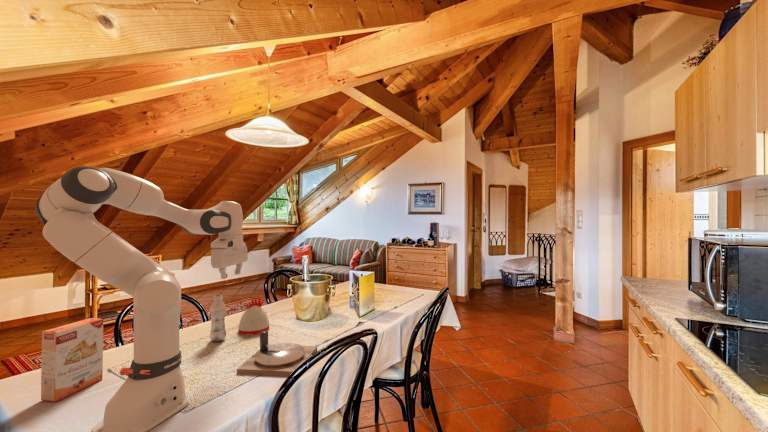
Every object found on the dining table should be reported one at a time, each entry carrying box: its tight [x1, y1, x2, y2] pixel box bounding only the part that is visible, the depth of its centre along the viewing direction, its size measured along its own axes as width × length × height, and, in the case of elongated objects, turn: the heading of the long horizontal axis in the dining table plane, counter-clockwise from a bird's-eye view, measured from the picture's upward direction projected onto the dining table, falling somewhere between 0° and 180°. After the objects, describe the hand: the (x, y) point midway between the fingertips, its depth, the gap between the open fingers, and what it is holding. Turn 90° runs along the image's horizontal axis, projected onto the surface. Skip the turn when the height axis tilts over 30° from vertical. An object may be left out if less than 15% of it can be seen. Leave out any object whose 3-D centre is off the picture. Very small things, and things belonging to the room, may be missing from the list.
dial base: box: [236, 344, 318, 377], centre depth 124 cm, size 22×22×2 cm
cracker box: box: [40, 317, 104, 403], centre depth 104 cm, size 14×6×21 cm, turn 170°
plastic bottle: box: [209, 294, 227, 343], centre depth 145 cm, size 6×7×20 cm
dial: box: [254, 330, 305, 367], centre depth 124 cm, size 18×18×8 cm
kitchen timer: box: [238, 297, 270, 335], centre depth 159 cm, size 14×14×15 cm
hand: (231, 276), depth 130 cm, fingers open, 8 cm apart
